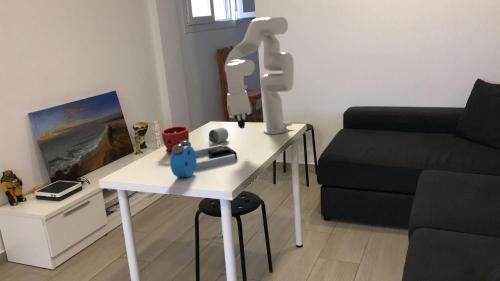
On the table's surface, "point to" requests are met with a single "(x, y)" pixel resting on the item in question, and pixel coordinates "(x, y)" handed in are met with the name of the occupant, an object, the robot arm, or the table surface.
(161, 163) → the table surface
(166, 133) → the plant pot
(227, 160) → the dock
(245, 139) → the table surface
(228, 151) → the battery charger
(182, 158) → the alarm clock
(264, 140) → the table surface
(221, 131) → the ceramic mug
